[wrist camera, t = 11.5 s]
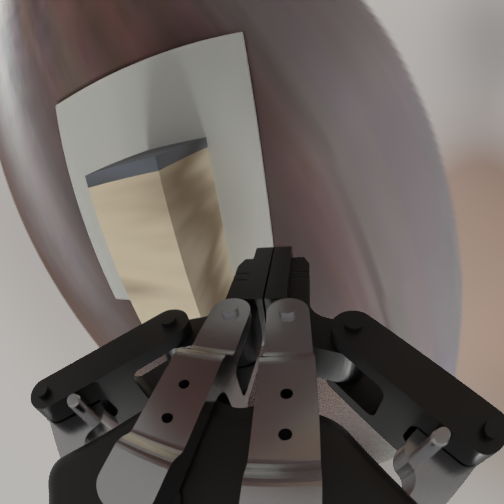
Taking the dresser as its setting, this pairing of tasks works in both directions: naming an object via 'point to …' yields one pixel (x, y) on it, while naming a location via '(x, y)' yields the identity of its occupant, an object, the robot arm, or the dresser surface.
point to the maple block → (165, 229)
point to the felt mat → (175, 135)
